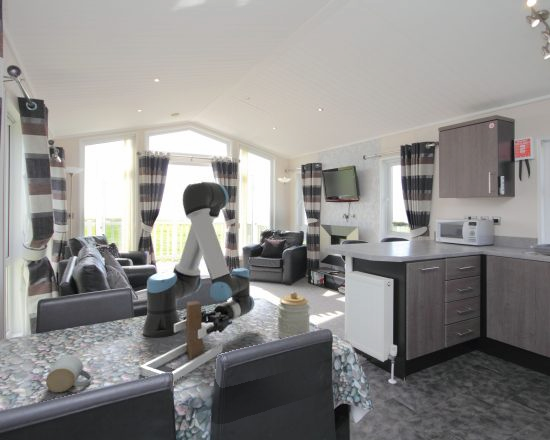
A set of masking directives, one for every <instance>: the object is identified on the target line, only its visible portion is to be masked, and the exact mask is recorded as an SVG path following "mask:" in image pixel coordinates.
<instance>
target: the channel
mask: <svg viewBox="0 0 550 440" xmlns="http://www.w3.org/2000/svg"><path fill="white" fill-rule="evenodd" d="M222 352H223V344H220V343H219V344H218V345H216V346H214V347H212V348H211V349H209V350H207V351H204V354H202V355H200V356H198V357H197V358H195V359H193V360H192V361H191V360H189V361H188V362H186V363H185V364H183V365H181V366H179V367H177V368H173V367H169V366H166V365H164V364H166V363H168V362H169V361H172V360H174V359H176V358H177V357H180V356H181V355H183V354H185V353H187V342H185V343H184V344H181V345H179V346H177V347H175V348H173V349H171V350H169V351H168V352H166V353H164V354H162V355H159V356H157V357H155V358H154V359H153V358H152V359H151V360H150V361H148V362H146V363H144V364H142V365H140V366H139V375H141V376H143V377H145V378H148V377H147V376H151V375H156V374H161V373H165V372H172V373H173V375H174V382H176V381H178V380H179V379H181V378H183V377H184V376H186V375H188V374H190V373H191V372H192V371H194V370H195V369H197V368H198V367H200V366H202V365H203V364H205V363H207V362H208V361H210V360H211V359H214V357H216V356H218V355H219V354H221V353H222ZM217 354H218V355H217ZM182 376H183V377H182ZM180 377H181V378H180ZM177 379H178V380H177ZM174 382H173V383H174Z"/></svg>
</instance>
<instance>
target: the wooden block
mask: <svg viewBox="0 0 550 440" xmlns="http://www.w3.org/2000/svg"><path fill="white" fill-rule="evenodd" d="M185 304H186V307H185V308H186V310H185V311H186V313H185V314H186V315H185V316H186V318H187V328H186V343H187V352H186V353H187V355H188V357H189V359H190V360H189V361H192V360H193V359H195V358H197V357H198V356H200V355H202V354H204V353H205V345H204V341H203V337H202V338H200V339H199V338H198V330H199V329H201V328H203V327H202V326H203V325H202V323H201V312H202V303H201V302H200V301H199V300H195V301H194V300H193V301H187V302H186V303H185Z"/></svg>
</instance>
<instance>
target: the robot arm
mask: <svg viewBox="0 0 550 440" xmlns="http://www.w3.org/2000/svg"><path fill="white" fill-rule="evenodd" d="M228 202H229V193H228V192H227V189H226V187H224V186H223V185H222V184H220V183H216V182H210V181H202V180H196V181H192V182H190V183H189V184H188V185H187V186H186V187H185V188H184V190H183V194H182V206H183V211H184V214H185V217H186V219H189V220H190V223H191V224H190V227H189V230H188V234H187V237H186V241H185V244H184V247H183V251H182V254H181V257H180V260H179V263H176V264H175V265H174V268H173V270H172V271H164V272H157V273H155V274H152V275H151V276H149V277H148V278H147V281H146V301H147V303H146V304H147V305H146V306H147V307H146V309H147V313H146V317H145V321H144V324H143V327H142V333H143V335H144V336H146V337H150V338H163V337H169V336H172V335H175V334H177V333H179V332H180V331H182V330H186V329H187V318H186V315H185V316H183V318H182V319H183V320H181V319H180V316H179V313H178V301H180V300H182V299H185V298H188V297H190V296H192V295H194V294H195V293H197V292H198V291H199V290H200V288H201V286H202V281H203V279H202V278H201V270H200V268H199V267H200V263H201V260H202V258H203V260H204V264H205V266H206V269H207V271H208V274H209V277H210V281H211V283H212V284H211V286H210V287H209V295H210V297H211V298H212V300H213V301H215V302H218V303H222V302H224V301H226V302H224V303H222V304H219V305H217V306H216V307H215V308H214V310H213V311H210V312H207V311H206V310H203V311H202V310H201V323H204V324H208V325H206V326H203V327H202V328H201V329H199V330H198V338H199V339H200V338H202V339H203V338H204V337H206V336H207V335H210V334H212V333H216V332H218V333H223V332H224V330H226V328H228V327H229V325H232V324H233V321H234V320H237V319H238V318H241V317H242V316H245V315H247V314H249V313H250V312H251V311H252V310H253V309H254V307H255V301H254V297H252V296H251V294H250V293H251V291H250V290H251V289H250V284H251V283H250V281H251V280H250V278H251V276H250V270H249V269H248V268H245V267H242V268H241V267H239V268H234V269H232V270H231V274H230V270H229V267H228V265H227V262H226V258H225V256H224V253H223V250H222V247H221V243H220V241H219V238H218V236H217V233H216V230H215V228H214V227H215V226H214V224H213V223H214V220H215V219H217V218H219V215H220V212H221V210H223V209H224V208H225V207H227V205H228ZM230 299H231V300H230Z"/></svg>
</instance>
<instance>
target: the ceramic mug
mask: <svg viewBox="0 0 550 440" xmlns="http://www.w3.org/2000/svg"><path fill="white" fill-rule="evenodd" d="M83 368H84V365H83V361H82V360H81V359H80V358H79V357H78V356H76V355H74V354H73V355H72V354H66V355H63V356H61V357H59V358H57V360H56V361H55V362H54V364H53V365H52V367H51V369H50V371H49V372H48V374H47V376H46V380H45V384H46V387H47V388H48V390H49V391H50V392H53V393H57V392H60V393H64V392H67V391H68V390H70V389H71V388H72V387H73V386H75V387H80V388H83V387H87V386H88V385H89V384H90V383H91V381H92V380H93V379H92V378H93V377H92V374H91V373H89V372H88V371H86V370H85V369H83ZM80 376H82V377H84V378H86V379H87V380H86V381H81V380H78V378H79V377H80ZM63 391H64V392H63Z"/></svg>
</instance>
